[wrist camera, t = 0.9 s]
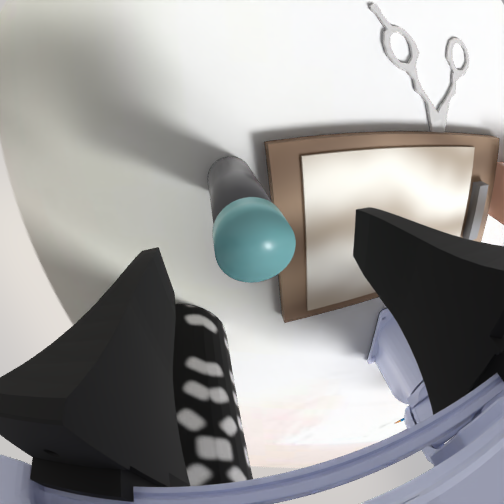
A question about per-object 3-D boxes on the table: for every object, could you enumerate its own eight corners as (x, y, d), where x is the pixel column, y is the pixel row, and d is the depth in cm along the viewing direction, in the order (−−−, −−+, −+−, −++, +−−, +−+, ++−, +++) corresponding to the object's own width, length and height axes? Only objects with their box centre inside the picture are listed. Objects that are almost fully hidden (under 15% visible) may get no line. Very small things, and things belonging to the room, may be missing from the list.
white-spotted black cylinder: (212, 293, 23) (259, 571, 6) (235, 354, 27) (279, 555, 10) (119, 315, 22) (100, 561, 6) (157, 370, 27) (167, 560, 10)
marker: (255, 194, 19) (297, 273, 12) (210, 203, 19) (223, 289, 11) (249, 151, 17) (293, 204, 10) (202, 160, 17) (207, 220, 10)
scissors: (463, 26, 13) (464, 223, 24) (458, 26, 14) (459, 220, 24) (370, 3, 12) (387, 248, 23) (364, 5, 13) (382, 244, 24)
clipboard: (469, 258, 27) (479, 267, 26) (281, 314, 25) (287, 330, 24) (492, 135, 19) (506, 141, 17) (264, 141, 17) (271, 147, 16)
